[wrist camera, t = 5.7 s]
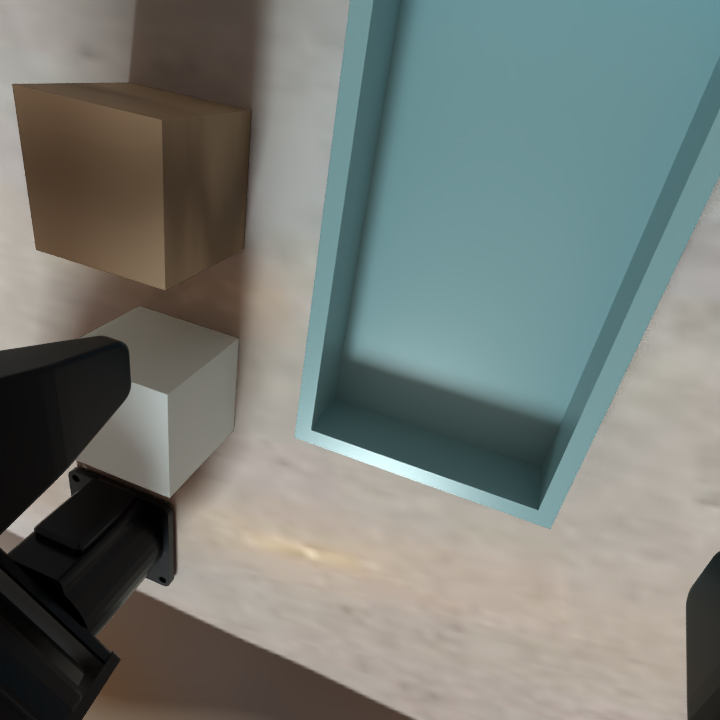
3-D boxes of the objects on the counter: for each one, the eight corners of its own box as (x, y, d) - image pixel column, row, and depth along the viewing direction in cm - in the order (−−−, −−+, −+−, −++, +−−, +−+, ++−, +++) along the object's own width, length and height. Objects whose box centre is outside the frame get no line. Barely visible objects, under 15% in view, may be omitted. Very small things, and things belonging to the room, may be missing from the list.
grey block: (234, 429, 26) (169, 498, 22) (144, 397, 27) (65, 456, 23) (239, 337, 23) (167, 394, 19) (140, 305, 24) (51, 352, 20)
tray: (552, 475, 21) (550, 529, 19) (324, 398, 23) (294, 437, 21) (775, -21, 13) (824, -44, 11) (397, -74, 15) (363, -104, 13)
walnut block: (244, 248, 21) (165, 290, 17) (136, 217, 22) (36, 250, 18) (252, 110, 19) (161, 120, 15) (130, 82, 20) (12, 83, 16)
